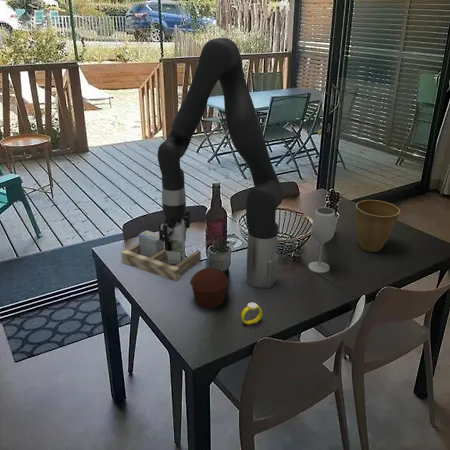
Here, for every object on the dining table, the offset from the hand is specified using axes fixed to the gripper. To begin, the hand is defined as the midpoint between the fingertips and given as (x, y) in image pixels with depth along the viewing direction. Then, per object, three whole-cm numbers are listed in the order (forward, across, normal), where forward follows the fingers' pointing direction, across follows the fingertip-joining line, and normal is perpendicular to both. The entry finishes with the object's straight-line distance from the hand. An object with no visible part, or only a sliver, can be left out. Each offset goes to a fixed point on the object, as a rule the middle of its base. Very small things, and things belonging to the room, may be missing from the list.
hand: (175, 245), depth 162 cm
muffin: (+8, -12, -21) cm, 25 cm away
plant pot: (+8, +48, -53) cm, 72 cm away
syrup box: (+6, 0, 0) cm, 6 cm away
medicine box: (+8, 0, +10) cm, 13 cm away
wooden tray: (+7, 0, +5) cm, 9 cm away
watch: (+8, -14, -37) cm, 40 cm away
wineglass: (+8, +24, -42) cm, 49 cm away
